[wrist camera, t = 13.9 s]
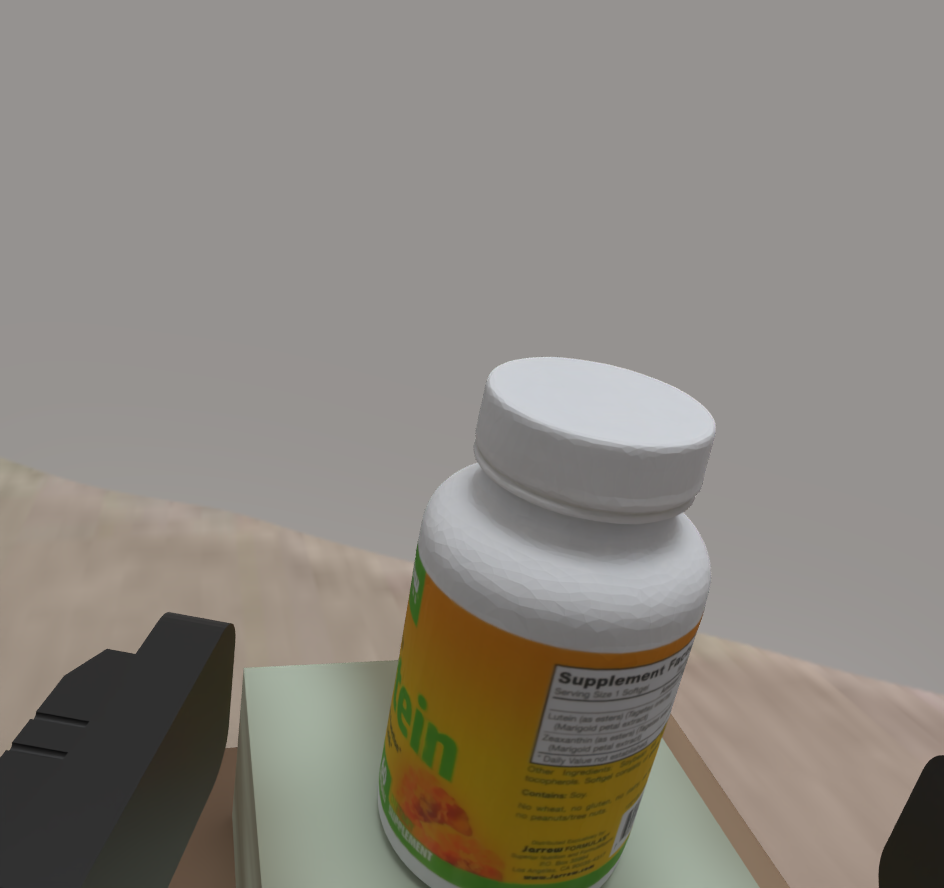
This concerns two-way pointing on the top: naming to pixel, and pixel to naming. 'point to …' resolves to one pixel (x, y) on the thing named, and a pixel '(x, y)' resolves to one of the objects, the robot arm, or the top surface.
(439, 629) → the supplement bottle
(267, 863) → the pedestal
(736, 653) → the top surface
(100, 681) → the robot arm
